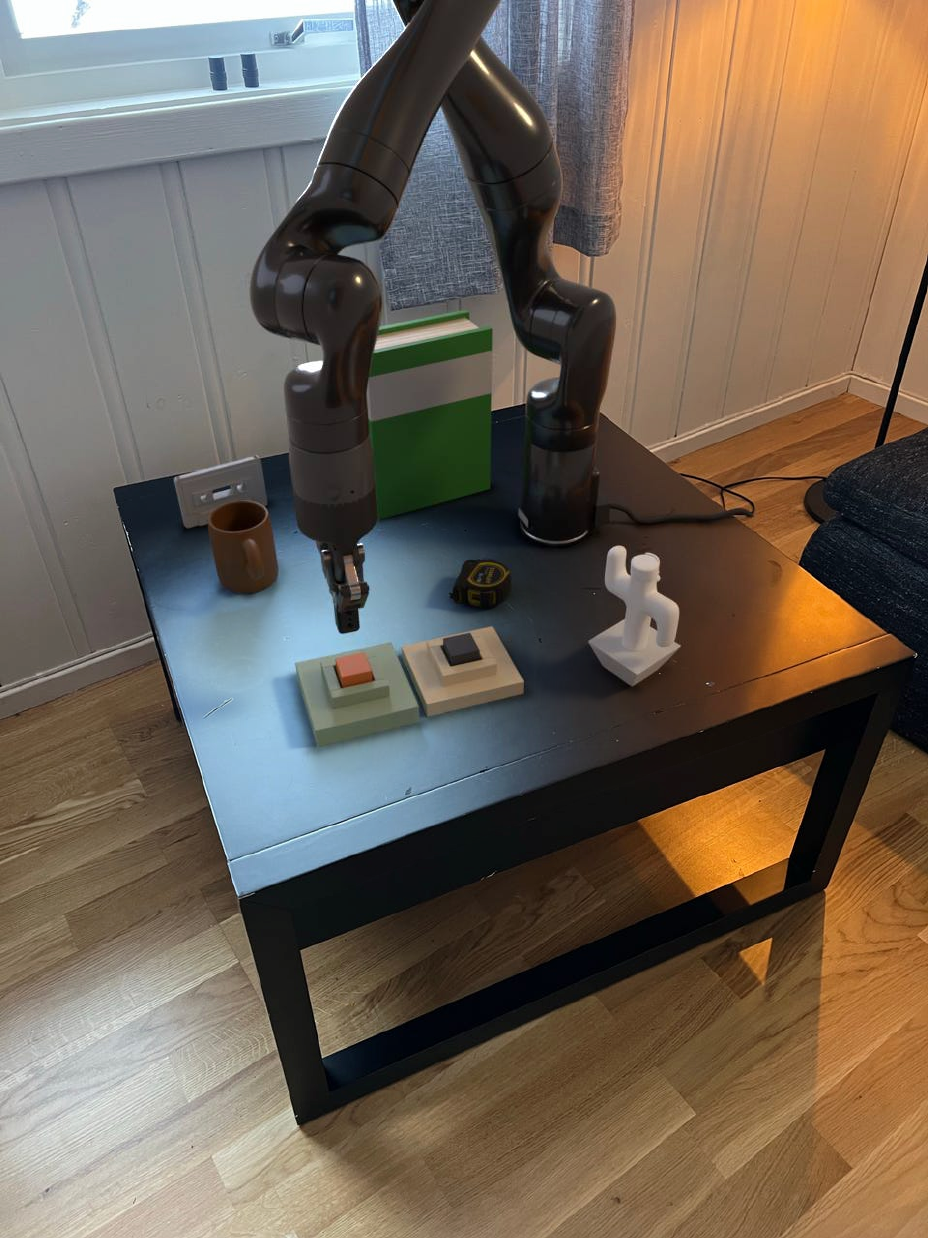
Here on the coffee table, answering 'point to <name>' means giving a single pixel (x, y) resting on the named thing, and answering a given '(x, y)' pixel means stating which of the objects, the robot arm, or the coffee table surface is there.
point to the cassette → (217, 477)
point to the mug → (243, 546)
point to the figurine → (637, 619)
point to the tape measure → (482, 583)
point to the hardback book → (430, 411)
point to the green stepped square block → (356, 696)
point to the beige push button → (461, 673)
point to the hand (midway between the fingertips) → (347, 628)
